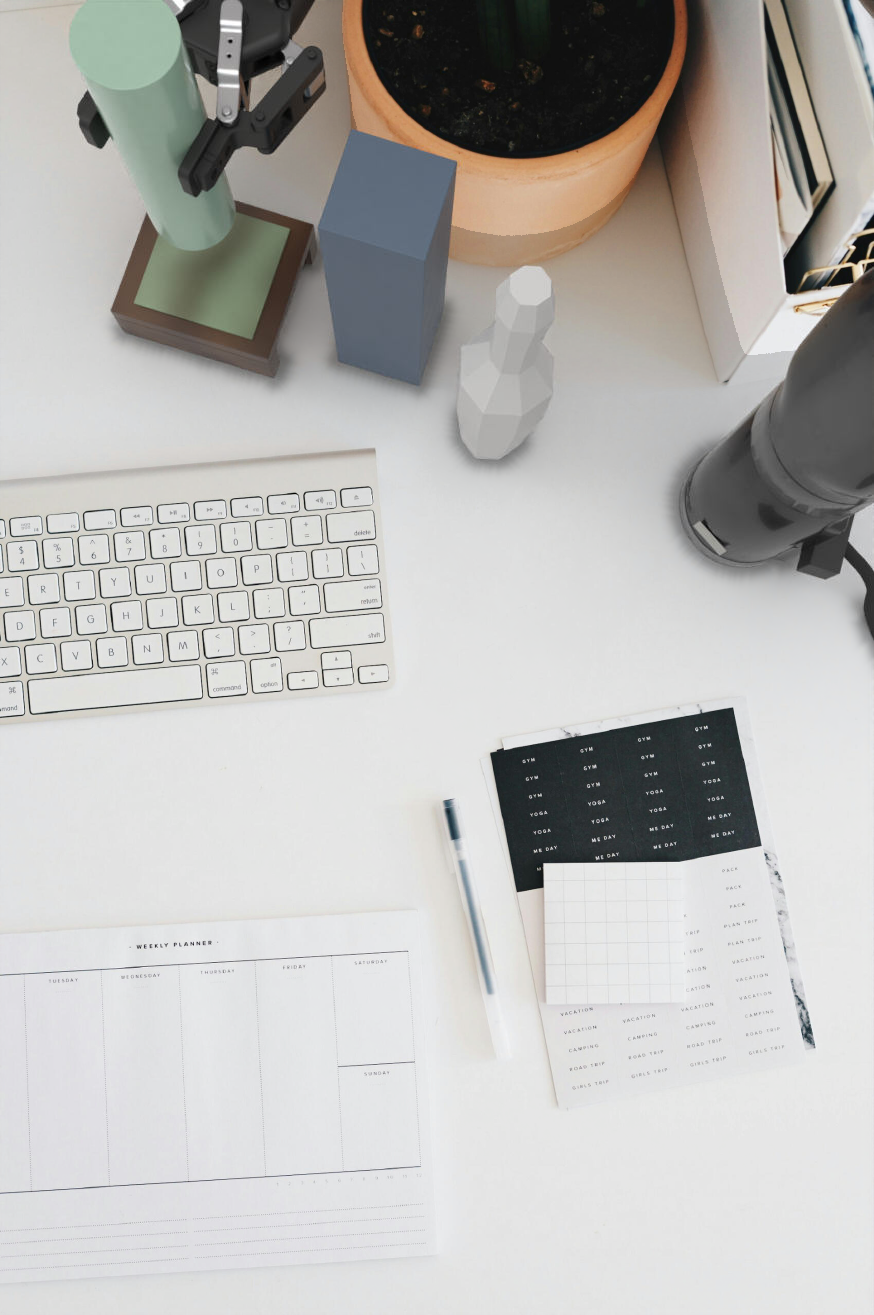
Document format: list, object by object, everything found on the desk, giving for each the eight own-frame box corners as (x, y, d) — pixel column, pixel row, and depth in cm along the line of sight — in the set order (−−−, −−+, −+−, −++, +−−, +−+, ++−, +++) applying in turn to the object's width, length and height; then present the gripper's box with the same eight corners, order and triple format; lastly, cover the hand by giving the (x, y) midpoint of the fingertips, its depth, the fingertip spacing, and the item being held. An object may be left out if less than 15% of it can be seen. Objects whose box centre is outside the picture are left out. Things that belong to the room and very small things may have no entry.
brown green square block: (318, 249, 72) (313, 222, 68) (274, 378, 70) (267, 357, 67) (170, 203, 72) (158, 174, 68) (124, 332, 70) (109, 309, 67)
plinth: (443, 309, 72) (457, 160, 54) (419, 386, 71) (425, 260, 53) (363, 285, 71) (351, 127, 54) (338, 361, 71) (317, 227, 53)
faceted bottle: (541, 458, 71) (605, 324, 49) (462, 481, 70) (491, 356, 48) (517, 382, 71) (568, 215, 49) (438, 404, 71) (455, 246, 49)
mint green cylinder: (247, 186, 61) (196, 6, 46) (218, 262, 61) (158, 104, 46) (167, 160, 61) (91, -29, 46) (138, 235, 61) (51, 68, 46)
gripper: (151, -195, 50) (-3, 56, 49) (384, -79, 50) (238, 177, 49) (184, -74, 58) (50, 148, 56) (387, 28, 58) (260, 254, 56)
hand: (138, 160), depth 52 cm, fingers closed on mint green cylinder, 5 cm apart
